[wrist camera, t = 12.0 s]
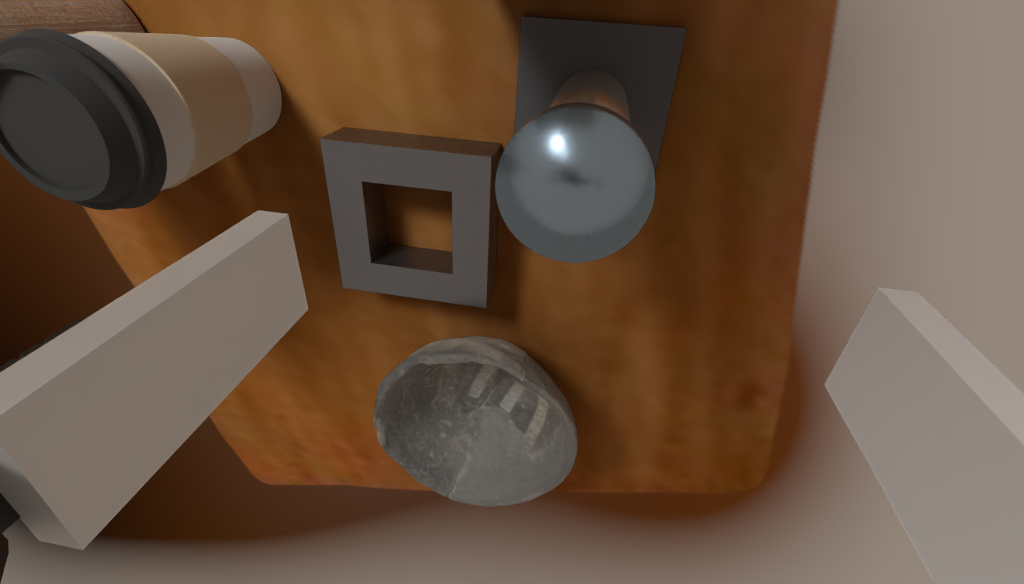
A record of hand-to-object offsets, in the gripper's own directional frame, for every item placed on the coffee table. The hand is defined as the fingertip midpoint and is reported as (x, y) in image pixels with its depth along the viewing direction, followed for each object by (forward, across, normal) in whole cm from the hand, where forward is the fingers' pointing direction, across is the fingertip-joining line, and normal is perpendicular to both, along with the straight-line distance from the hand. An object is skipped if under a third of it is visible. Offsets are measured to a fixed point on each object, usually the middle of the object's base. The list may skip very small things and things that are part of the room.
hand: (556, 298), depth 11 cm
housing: (+25, -12, -10) cm, 29 cm away
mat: (+25, 0, 0) cm, 25 cm away
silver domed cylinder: (+24, 0, 0) cm, 24 cm away
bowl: (+25, -6, -26) cm, 37 cm away
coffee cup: (+25, -26, -2) cm, 36 cm away
